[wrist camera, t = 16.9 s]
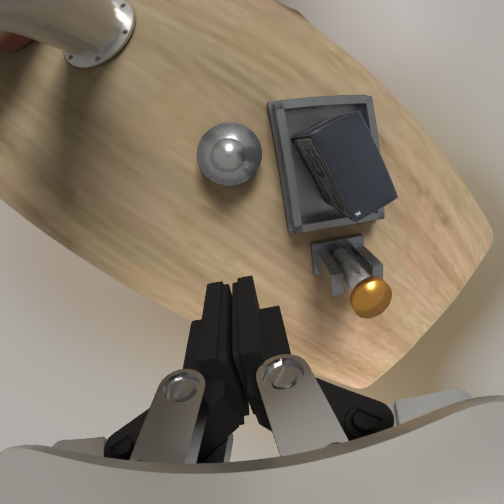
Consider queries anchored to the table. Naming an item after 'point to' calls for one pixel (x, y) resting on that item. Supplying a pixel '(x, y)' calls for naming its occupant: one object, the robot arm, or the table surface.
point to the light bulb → (362, 286)
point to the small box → (346, 165)
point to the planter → (12, 41)
